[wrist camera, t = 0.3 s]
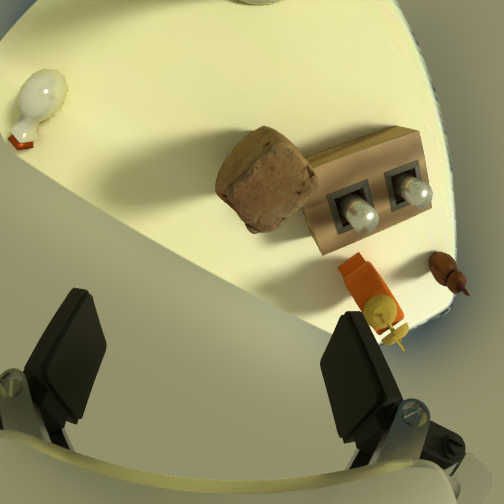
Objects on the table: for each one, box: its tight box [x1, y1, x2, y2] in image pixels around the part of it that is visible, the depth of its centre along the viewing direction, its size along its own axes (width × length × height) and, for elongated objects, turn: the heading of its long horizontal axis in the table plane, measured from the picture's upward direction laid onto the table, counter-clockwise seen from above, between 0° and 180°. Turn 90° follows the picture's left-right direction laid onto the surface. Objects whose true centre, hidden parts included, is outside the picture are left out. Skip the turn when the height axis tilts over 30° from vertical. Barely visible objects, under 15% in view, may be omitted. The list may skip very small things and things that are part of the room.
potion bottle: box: [8, 69, 68, 150], centre depth 29 cm, size 9×10×15 cm
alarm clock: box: [338, 252, 409, 351], centre depth 45 cm, size 13×6×20 cm, turn 41°
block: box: [215, 126, 320, 234], centre depth 33 cm, size 11×8×20 cm
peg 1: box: [337, 192, 379, 234], centre depth 38 cm, size 4×4×7 cm
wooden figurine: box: [429, 252, 469, 296], centre depth 47 cm, size 7×6×15 cm
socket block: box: [301, 126, 432, 256], centre depth 41 cm, size 14×22×7 cm, turn 114°
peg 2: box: [391, 172, 433, 209], centre depth 36 cm, size 4×4×7 cm
